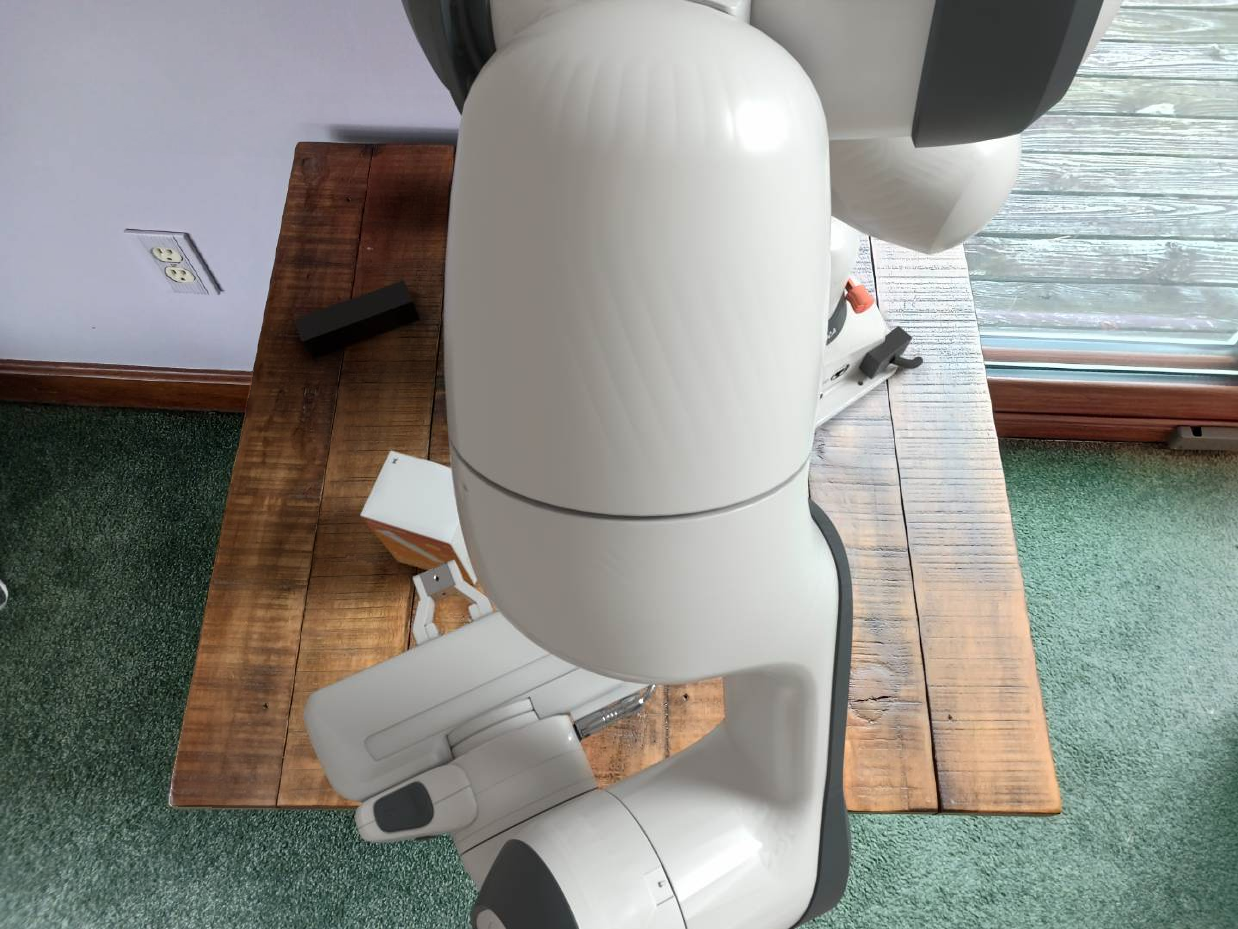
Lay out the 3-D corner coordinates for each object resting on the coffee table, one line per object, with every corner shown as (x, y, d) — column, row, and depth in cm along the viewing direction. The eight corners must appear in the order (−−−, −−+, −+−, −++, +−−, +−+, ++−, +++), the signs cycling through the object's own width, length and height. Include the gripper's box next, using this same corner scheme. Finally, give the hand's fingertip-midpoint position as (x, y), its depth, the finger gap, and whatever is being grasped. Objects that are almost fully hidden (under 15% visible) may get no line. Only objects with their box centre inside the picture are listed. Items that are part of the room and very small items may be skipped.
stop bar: (411, 299, 89) (403, 279, 86) (420, 319, 88) (413, 300, 85) (305, 337, 87) (293, 319, 84) (313, 359, 86) (301, 341, 82)
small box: (396, 563, 77) (356, 515, 65) (423, 503, 79) (389, 447, 67) (476, 588, 76) (450, 544, 64) (500, 527, 78) (479, 474, 66)
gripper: (671, 690, 47) (577, 491, 52) (332, 852, 44) (266, 622, 49) (664, 705, 53) (580, 525, 58) (365, 849, 49) (303, 643, 54)
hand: (434, 570), depth 53 cm, fingers closed
